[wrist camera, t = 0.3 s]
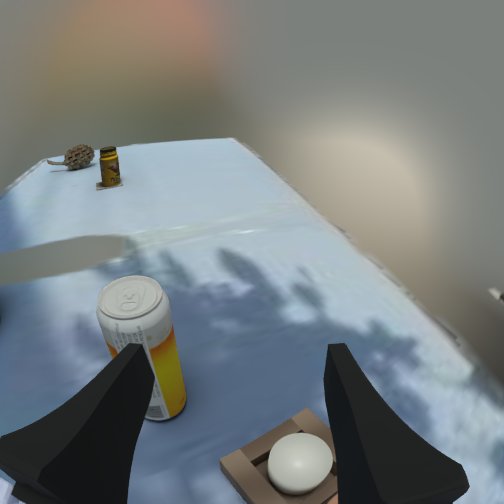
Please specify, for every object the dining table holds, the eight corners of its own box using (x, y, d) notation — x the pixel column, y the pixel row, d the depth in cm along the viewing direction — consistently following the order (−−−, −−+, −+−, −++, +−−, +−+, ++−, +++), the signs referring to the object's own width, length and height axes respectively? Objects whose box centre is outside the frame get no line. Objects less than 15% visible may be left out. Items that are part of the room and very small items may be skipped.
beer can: (184, 377, 34) (166, 269, 26) (190, 421, 29) (168, 317, 21) (133, 381, 33) (99, 275, 25) (134, 425, 28) (87, 323, 20)
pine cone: (97, 162, 117) (94, 140, 112) (94, 168, 109) (91, 144, 104) (49, 171, 110) (46, 149, 105) (44, 178, 102) (40, 154, 97)
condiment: (122, 185, 91) (119, 148, 85) (96, 190, 87) (91, 153, 81) (120, 179, 96) (117, 144, 90) (96, 184, 93) (92, 148, 87)
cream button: (336, 472, 22) (345, 461, 21) (291, 505, 19) (296, 498, 18) (300, 436, 26) (305, 422, 24) (254, 464, 23) (256, 453, 22)
